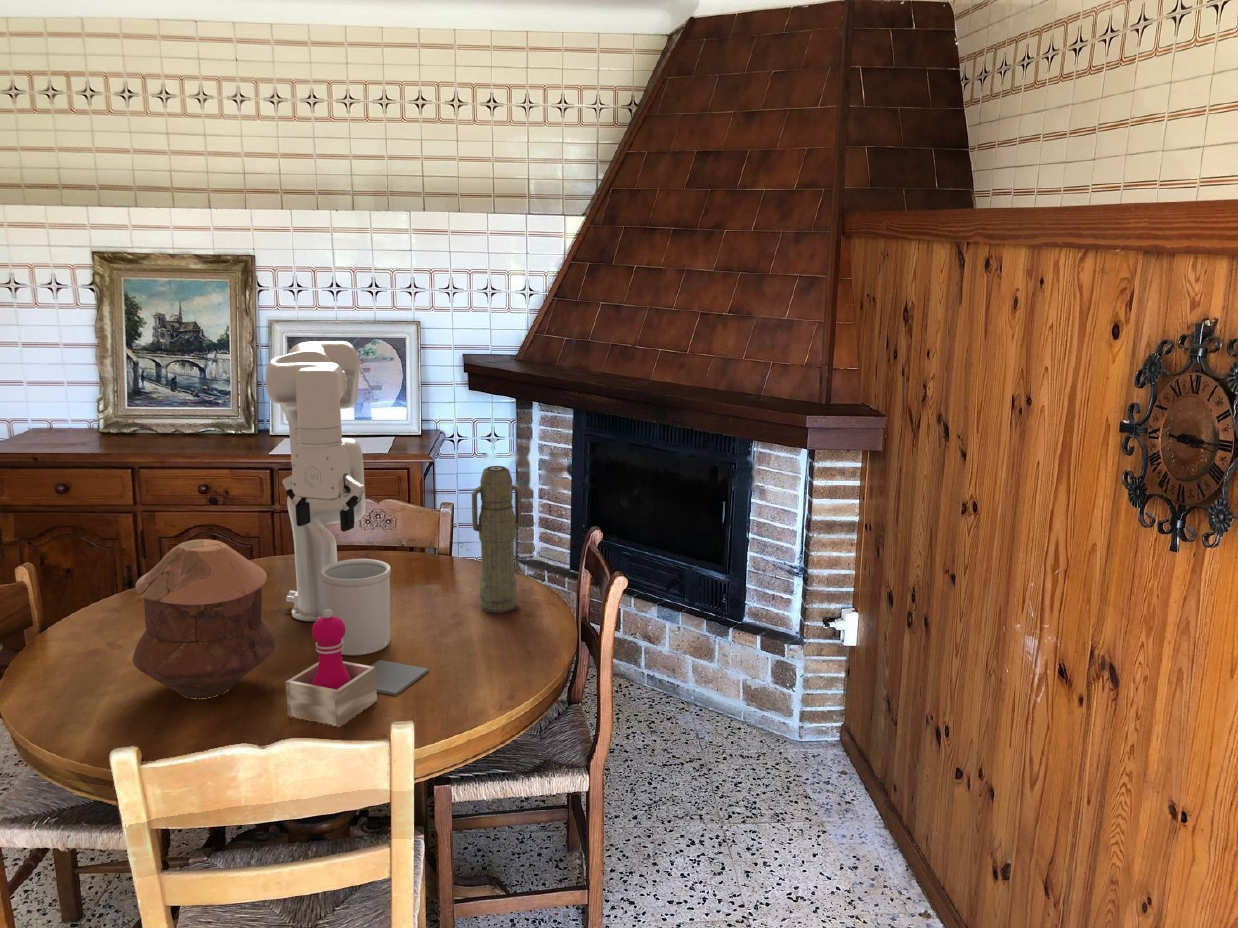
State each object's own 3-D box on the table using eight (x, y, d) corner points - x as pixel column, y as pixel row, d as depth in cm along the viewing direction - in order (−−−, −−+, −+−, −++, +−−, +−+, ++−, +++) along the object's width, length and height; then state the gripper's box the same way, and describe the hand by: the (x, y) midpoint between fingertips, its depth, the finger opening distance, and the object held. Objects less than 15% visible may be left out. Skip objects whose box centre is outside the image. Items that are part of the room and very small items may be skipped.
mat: (344, 685, 190) (344, 682, 189) (379, 662, 201) (379, 659, 200) (396, 695, 186) (395, 692, 185) (428, 671, 197) (428, 668, 196)
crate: (287, 716, 177) (285, 681, 175) (327, 690, 187) (325, 657, 186) (339, 727, 173) (337, 692, 171) (377, 700, 183) (375, 666, 182)
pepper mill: (360, 703, 182) (355, 605, 178) (338, 720, 176) (332, 618, 171) (328, 697, 184) (323, 600, 180) (305, 713, 178) (298, 613, 174)
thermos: (528, 607, 233) (526, 469, 225) (483, 616, 227) (480, 474, 219) (513, 596, 240) (511, 462, 233) (469, 604, 234) (466, 466, 227)
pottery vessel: (133, 676, 193) (118, 535, 186) (265, 652, 205) (256, 519, 198) (141, 731, 170) (124, 573, 164) (288, 701, 183) (278, 552, 176)
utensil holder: (371, 625, 221) (368, 553, 217) (406, 644, 210) (403, 569, 207) (312, 642, 211) (307, 567, 207) (346, 663, 200) (341, 584, 196)
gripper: (267, 436, 171) (273, 527, 174) (347, 442, 165) (352, 537, 168) (294, 429, 178) (300, 517, 181) (373, 435, 172) (377, 526, 175)
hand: (325, 527), depth 175 cm, fingers open, 9 cm apart
